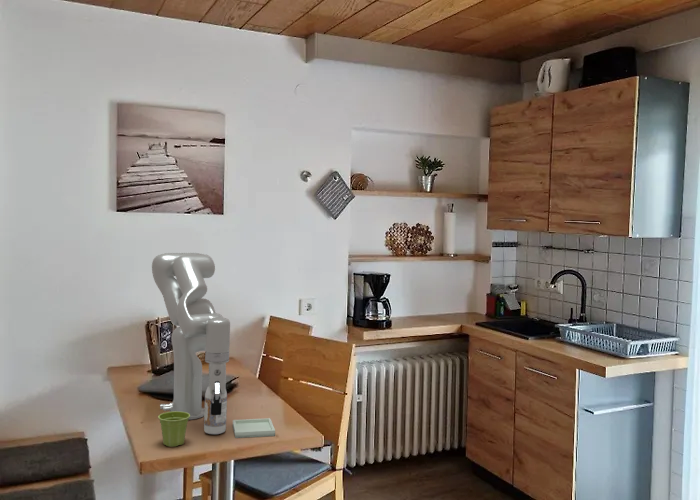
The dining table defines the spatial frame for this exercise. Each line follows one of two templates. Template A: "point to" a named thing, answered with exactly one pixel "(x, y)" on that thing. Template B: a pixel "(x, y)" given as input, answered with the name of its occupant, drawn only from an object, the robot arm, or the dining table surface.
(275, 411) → the dining table surface
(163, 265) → the robot arm
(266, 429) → the tray
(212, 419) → the bath foam
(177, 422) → the plant pot
